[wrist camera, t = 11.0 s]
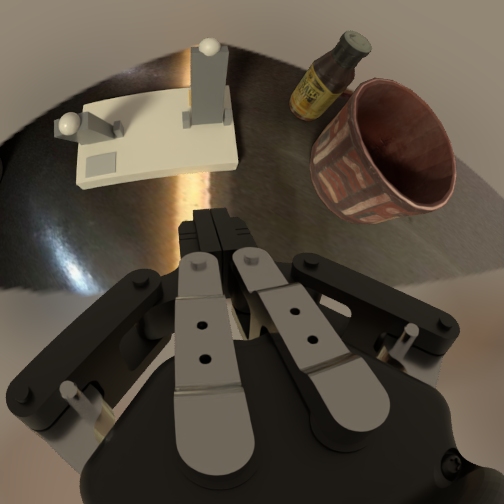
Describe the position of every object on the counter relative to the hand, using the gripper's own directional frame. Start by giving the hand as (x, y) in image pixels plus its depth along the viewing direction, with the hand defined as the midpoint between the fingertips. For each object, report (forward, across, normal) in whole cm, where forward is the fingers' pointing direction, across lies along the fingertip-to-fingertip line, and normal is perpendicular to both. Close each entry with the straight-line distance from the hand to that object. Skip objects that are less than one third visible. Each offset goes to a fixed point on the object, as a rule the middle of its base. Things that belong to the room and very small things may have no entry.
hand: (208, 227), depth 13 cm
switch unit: (+34, +4, +2) cm, 34 cm away
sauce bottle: (+36, -21, -3) cm, 41 cm away
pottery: (+27, -26, +8) cm, 39 cm away
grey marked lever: (+31, +13, 0) cm, 34 cm away
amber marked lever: (+31, -3, -1) cm, 31 cm away
